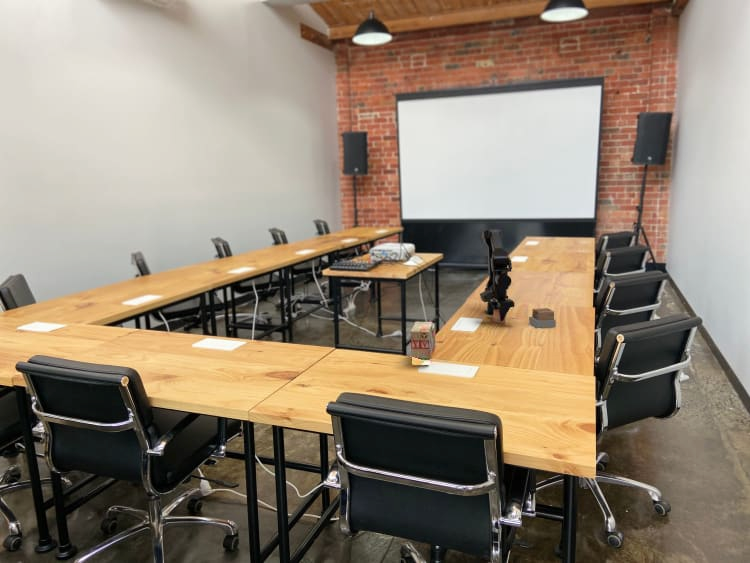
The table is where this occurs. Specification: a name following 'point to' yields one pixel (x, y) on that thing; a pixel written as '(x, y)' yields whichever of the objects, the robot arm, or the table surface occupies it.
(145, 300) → the table surface
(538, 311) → the tower top
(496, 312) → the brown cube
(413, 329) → the cardboard box
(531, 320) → the tower base
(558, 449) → the table surface
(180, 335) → the table surface
